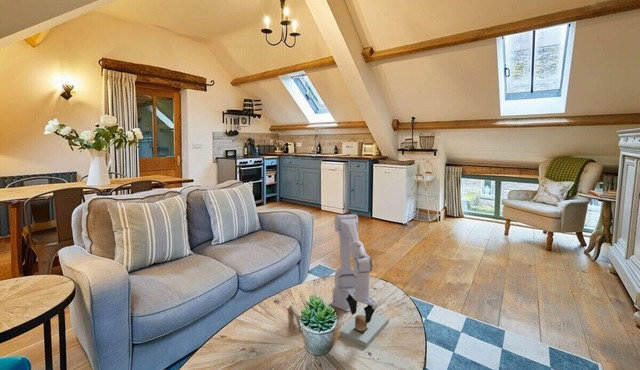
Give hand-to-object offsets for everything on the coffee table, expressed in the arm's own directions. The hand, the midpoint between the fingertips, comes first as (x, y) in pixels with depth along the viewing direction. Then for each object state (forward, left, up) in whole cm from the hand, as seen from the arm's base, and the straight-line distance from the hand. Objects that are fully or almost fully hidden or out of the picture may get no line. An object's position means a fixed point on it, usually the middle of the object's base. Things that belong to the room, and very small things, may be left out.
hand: (360, 317), depth 126 cm
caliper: (-28, -8, -8) cm, 30 cm away
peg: (0, 0, -7) cm, 7 cm away
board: (0, +4, -7) cm, 8 cm away
